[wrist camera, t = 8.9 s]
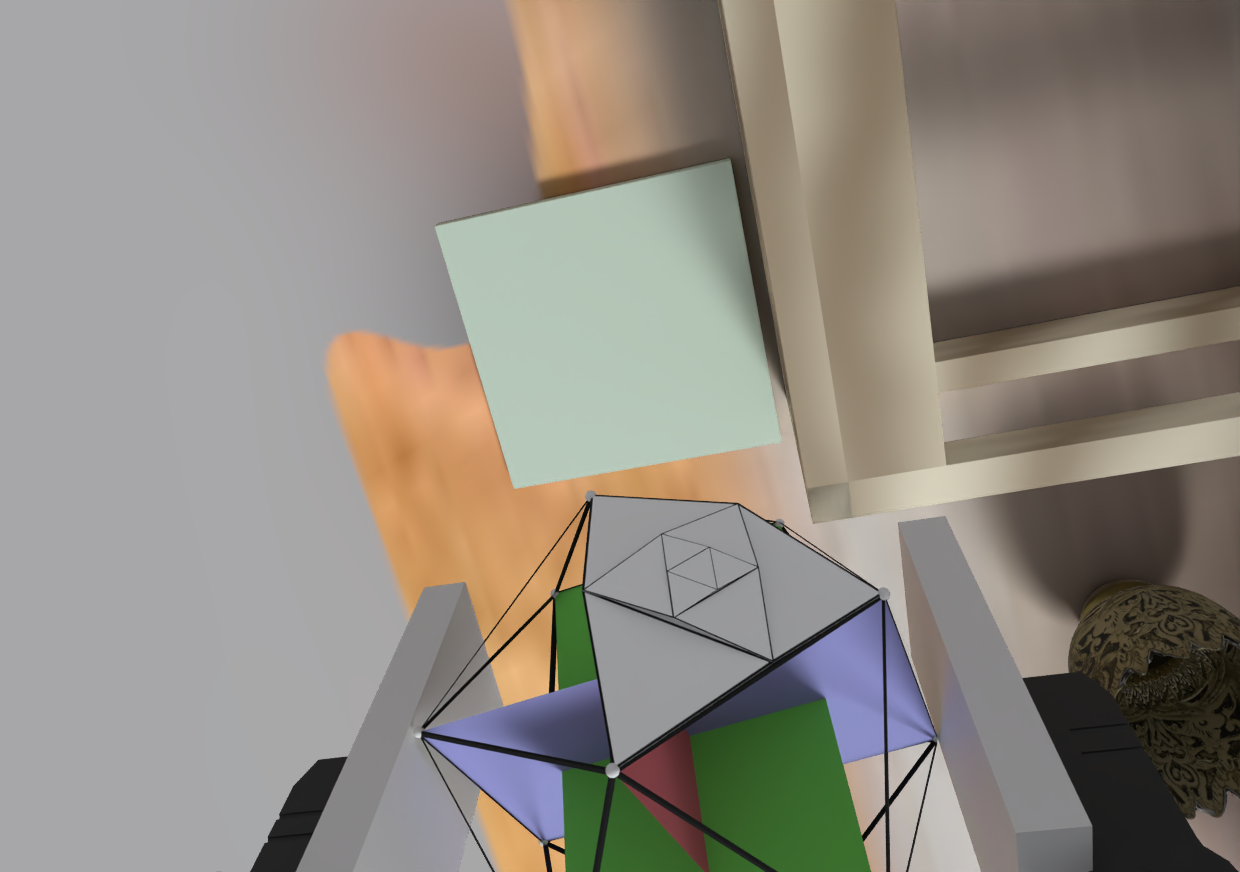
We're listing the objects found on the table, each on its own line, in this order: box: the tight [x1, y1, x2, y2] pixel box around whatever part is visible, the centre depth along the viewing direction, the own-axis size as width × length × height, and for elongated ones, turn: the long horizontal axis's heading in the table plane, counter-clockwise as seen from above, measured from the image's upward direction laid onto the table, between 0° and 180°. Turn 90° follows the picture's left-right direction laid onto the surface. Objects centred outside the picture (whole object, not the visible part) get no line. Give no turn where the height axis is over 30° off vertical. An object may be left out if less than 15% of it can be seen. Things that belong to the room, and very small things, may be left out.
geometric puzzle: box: [413, 491, 940, 872], centre depth 14 cm, size 7×7×8 cm
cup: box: [1068, 579, 1240, 819], centre depth 37 cm, size 8×7×8 cm
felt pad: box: [435, 158, 781, 489], centre depth 38 cm, size 11×11×1 cm
